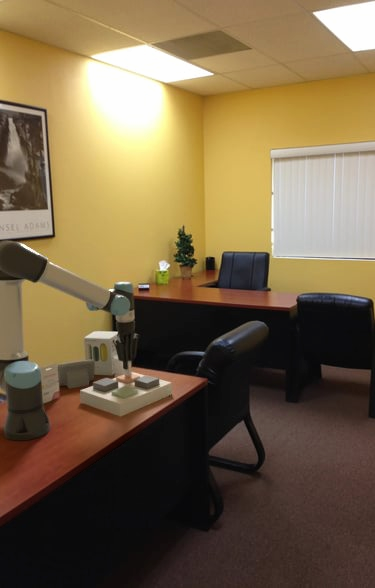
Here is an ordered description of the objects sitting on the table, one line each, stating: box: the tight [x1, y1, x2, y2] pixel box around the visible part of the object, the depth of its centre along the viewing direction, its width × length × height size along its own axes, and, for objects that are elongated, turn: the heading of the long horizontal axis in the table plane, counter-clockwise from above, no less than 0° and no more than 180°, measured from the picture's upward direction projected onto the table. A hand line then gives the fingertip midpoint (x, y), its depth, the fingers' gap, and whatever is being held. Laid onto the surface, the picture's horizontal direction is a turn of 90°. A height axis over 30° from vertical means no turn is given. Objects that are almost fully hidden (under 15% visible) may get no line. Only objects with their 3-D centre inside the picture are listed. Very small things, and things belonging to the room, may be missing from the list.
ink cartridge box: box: [40, 362, 61, 405], centre depth 206 cm, size 9×5×15 cm, turn 143°
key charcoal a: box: [92, 377, 118, 392], centre depth 204 cm, size 7×7×5 cm
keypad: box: [79, 371, 173, 418], centre depth 206 cm, size 28×23×5 cm
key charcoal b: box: [134, 374, 160, 390], centre depth 206 cm, size 7×7×5 cm
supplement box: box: [83, 330, 118, 376], centre depth 241 cm, size 13×13×18 cm
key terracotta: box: [116, 374, 140, 384], centre depth 214 cm, size 7×7×5 cm
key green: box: [112, 386, 138, 399], centre depth 198 cm, size 7×7×5 cm
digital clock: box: [57, 359, 95, 389], centre depth 223 cm, size 16×9×11 cm, turn 102°
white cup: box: [113, 355, 125, 378], centre depth 230 cm, size 8×8×10 cm
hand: (128, 376), depth 213 cm, fingers closed
